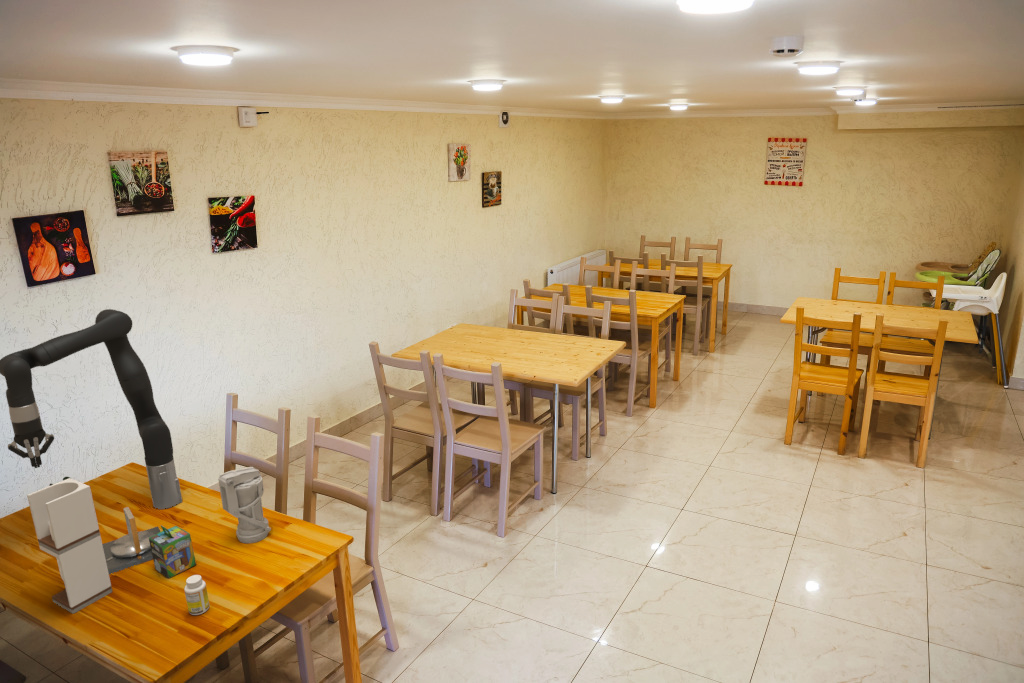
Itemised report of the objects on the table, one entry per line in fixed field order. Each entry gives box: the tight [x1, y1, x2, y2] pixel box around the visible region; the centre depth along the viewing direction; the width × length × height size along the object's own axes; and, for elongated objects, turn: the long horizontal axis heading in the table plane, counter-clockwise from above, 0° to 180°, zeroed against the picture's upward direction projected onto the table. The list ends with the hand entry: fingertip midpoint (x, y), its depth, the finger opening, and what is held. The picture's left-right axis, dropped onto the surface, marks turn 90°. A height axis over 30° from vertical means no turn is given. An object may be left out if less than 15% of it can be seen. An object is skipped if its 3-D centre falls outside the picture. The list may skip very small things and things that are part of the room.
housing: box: [102, 526, 162, 575], centre depth 225 cm, size 18×18×2 cm
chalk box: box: [149, 524, 197, 580], centre depth 214 cm, size 9×9×15 cm
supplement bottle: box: [183, 574, 210, 616], centre depth 194 cm, size 6×6×10 cm
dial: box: [111, 506, 155, 557], centre depth 222 cm, size 15×13×14 cm
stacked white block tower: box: [26, 477, 113, 614], centre depth 198 cm, size 11×11×35 cm
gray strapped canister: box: [218, 466, 272, 544], centre depth 228 cm, size 13×10×25 cm
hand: (37, 466), depth 222 cm, fingers closed
